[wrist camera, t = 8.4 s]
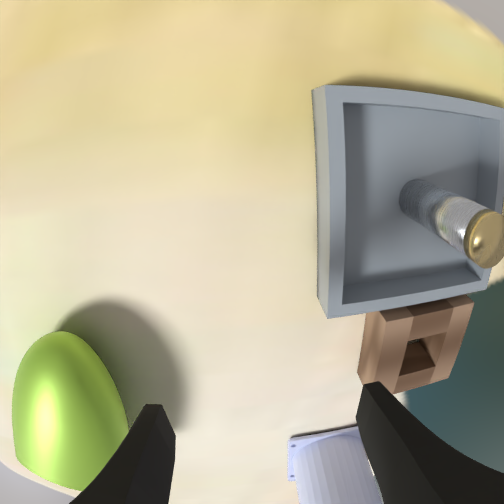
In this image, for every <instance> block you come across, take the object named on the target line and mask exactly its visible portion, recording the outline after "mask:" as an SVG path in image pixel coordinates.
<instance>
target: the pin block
mask: <svg viewBox="0 0 504 504" xmlns="http://www.w3.org/2000/svg"><path fill="white" fill-rule="evenodd" d="M473 305H474V302H473V301H472V300H471V299H470V298H469V297H468V296H467V295H466V294H463V295H458V296H454V297H449V298H444V299H440V300H435V301H430V302H425V303H420V304H414V305H409V306H404V307H398V308H393V309H387V310H381V311H375V312H369V313H366V319H365V327H364V334H363V341H362V347H361V353H360V359H359V365H358V371H357V373H358V375H359V378H360V380H361V382H362V384H367V383H372V382H376V381H380V382H381V383H382V384H383V385H384V386H385V387H386V388H387V389H388V390H389V392H390V393H391V394H396V393H399V392H403V391H407V390H410V389H414V388H417V387H420V386H424V385H427V384H430V383H434V382H437V381H440V380H442V379H446V378H448V377H449V375H450V372H451V370H452V367H453V365H454V362H455V359H456V357H457V354H458V351H459V349H460V346H461V343H462V340H463V337H464V334H465V331H466V328H467V325H468V322H469V319H470V315H471V312H472V308H473ZM419 338H420V339H419ZM415 339H419V342H416V343H412V344H408V345H407V343H408V341H411V340H415Z"/></svg>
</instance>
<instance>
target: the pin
mask: <svg viewBox="0 0 504 504" xmlns="http://www.w3.org/2000/svg"><path fill="white" fill-rule="evenodd" d="M399 206H400V209H401V211H402V212H403V213H404V214H405V215H406V216H407V217H409V218H410V219H412V220H413V221H415V222H417V223H418V224H420V225H421V226H423V227H424V228H426V229H427V230H429V231H430V232H432V233H433V234H435V235H436V236H438V237H439V238H441V239H442V240H444V241H445V242H446V243H448V244H449V245H451V246H452V247H454V248H455V249H456V250H458V251H459V252H461V253H462V254H463V255H465V256H466V257H467V258H469V259H470V260H472V261H473V262H474V263H476V264H477V265H478V266H480V267H481V268H484V269H488V268H491V267H493V266H495V265H496V264H498V263H499V262H500V260H501V259H502V258H503V256H504V216H503V215H501V214H499V213H497V212H495V211H493V210H491V209H489V208H487V207H485V206H482V205H480V204H478V203H476V202H474V201H472V200H469V199H467V198H465V197H463V196H460V195H458V194H456V193H454V192H451V191H449V190H446V189H444V188H442V187H439V186H437V185H434V184H432V183H429V182H427V181H424V180H422V179H412V180H410V181H408V182H407V183H406V184H405V185H404V186H403V188H402V189H401V192H400V195H399Z"/></svg>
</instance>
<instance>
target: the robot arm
mask: <svg viewBox="0 0 504 504" xmlns="http://www.w3.org/2000/svg"><path fill="white" fill-rule="evenodd" d="M356 421H357V425H358V426H355V427H351V428H346V429H341V430H336V431H331V432H325V433H320V434H314V435H307V436H301V437H294V438H290V439H289V440H288V481H296V486H297V492H298V498H299V504H382V501H381V498H380V496H379V492H378V489H377V486H376V483H375V480H374V477H373V474H372V471H371V468H370V465H369V462H368V459H369V461H370V464H371V466H372V469H373V471H374V474H375V476H376V479H377V481H378V484H379V487H380V490H381V493H382V497H383V501H384V504H504V473H501V472H499V471H496V470H494V469H491V468H489V467H487V466H485V465H483V464H481V463H479V462H477V461H475V460H473V459H471V458H469V457H467V456H465V455H464V454H462V453H460V452H459V451H457V450H455V449H454V448H453V447H451V446H450V445H448V444H447V443H445V442H444V441H443V440H442V439H440V438H439V437H438V436H436V435H435V434H434V433H433V432H431V431H430V430H429V429H428V428H427V427H425V426H424V425H423V424H422V423H421V422H420V421H419V420H418V419H417V418H416V417H414V416H413V415H412V414H411V413H410V412H409V411H408V410H407V409H406V408H405V407H404V406H403V405H402V404H401V403H400V402H399V401H398V400H397V399H396V398H395V397H394V396H393V395H392V394H391V393H390V392H389V390H388V389H387V388H386V387H385V386H384V385H383V384H382V383H381V382H380V381H376V382H372V383H367V384H363V389H362V393H361V398H360V402H359V406H358V410H357V414H356ZM175 440H176V435H175V433H174V431H173V429H172V427H171V425H170V422H169V420H168V418H167V416H166V413H165V411H164V409H163V406H162V405H158V404H146V405H145V406H144V407H143V409H142V411H141V412H140V414H139V416H138V417H137V419H136V421H135V422H134V424H133V426H132V427H131V429H130V430H129V432H128V434H127V435H126V437H125V438H124V440H123V441H122V443H121V444H120V446H119V447H118V449H117V450H116V452H115V453H114V454H113V456H112V457H111V458H110V460H109V461H108V462H107V464H106V465H105V466H104V468H103V469H102V470H101V471H100V473H99V474H98V475H97V476H96V477H95V478H94V480H93V481H92V482H91V483H90V484H89V485H88V486H87V487H86V488H85V489H84V490H83V491H82V492H81V493H80V494H79V495H78V496H77V497H76V498H75V499H74V500H73V501H72V502H70V503H69V504H168V502H169V495H170V489H171V482H172V476H173V469H174V462H175ZM364 448H365V450H364ZM365 451H366V453H367V456H368V459H367V456H366V453H365Z"/></svg>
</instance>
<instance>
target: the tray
mask: <svg viewBox="0 0 504 504" xmlns="http://www.w3.org/2000/svg"><path fill="white" fill-rule="evenodd" d="M311 91H312V105H313V120H314V136H315V157H316V183H317V238H318V260H317V297H318V299H319V301H320V304H321V306H322V308H323V310H324V313H325V315H326V317H327V319H329V318H336V317H343V316H350V315H356V314H363V313H369V312H375V311H381V310H387V309H393V308H398V307H404V306H409V305H414V304H420V303H425V302H430V301H435V300H440V299H444V298H449V297H454V296H458V295H463V294H467V293H472V292H476V291H480V290H484V289H487V285H488V281H489V277H490V273H491V269H492V267H491V268H488V269H484V268H481V267H480V266H478V265H477V264H476V263H474V262H473V261H472V260H470V259H469V258H467V257H466V256H465V255H463V254H462V253H461V252H459V251H458V250H456V249H455V248H454V247H452V246H451V245H449V244H448V243H446V242H445V241H444V240H442V239H441V238H439V237H438V236H436V235H435V234H433V233H432V232H430V231H429V230H427V229H426V228H424V227H423V226H421V225H420V224H418V223H417V222H415V221H413V220H412V219H410V218H409V217H407V216H406V215H405V214H404V213H403V212H402V211H401V209H400V206H399V195H400V192H401V189H402V188H403V186H404V185H405V184H406V183H407V182H408V181H410V180H412V179H422V180H424V181H427V182H429V183H432V184H434V185H437V186H439V187H442V188H444V189H446V190H449V191H451V192H454V193H456V194H458V195H460V196H463V197H465V198H467V199H469V200H472V201H474V202H476V203H478V204H480V205H482V206H485V207H487V208H489V209H491V210H493V211H495V212H497V213H499V214H501V215H502V208H503V199H504V108H500V107H496V106H492V105H488V104H484V103H479V102H475V101H470V100H465V99H460V98H454V97H449V96H443V95H437V94H430V93H423V92H416V91H408V90H399V89H389V88H378V87H364V86H344V85H323V86H321V87H318V88H315V89H313V90H311Z"/></svg>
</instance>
